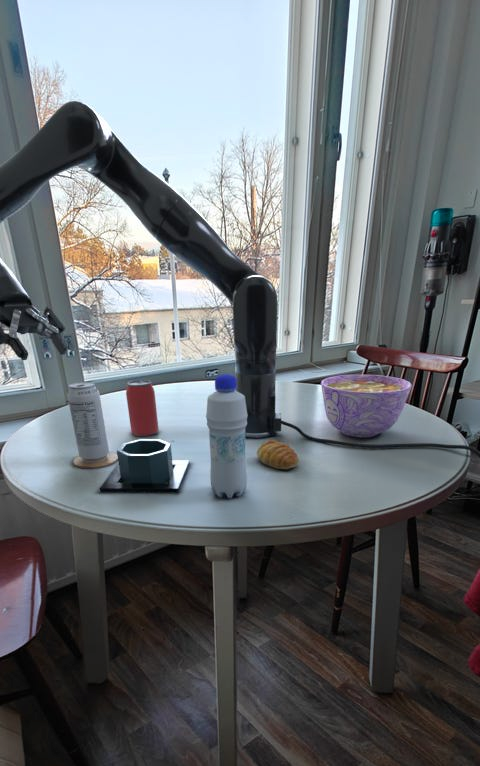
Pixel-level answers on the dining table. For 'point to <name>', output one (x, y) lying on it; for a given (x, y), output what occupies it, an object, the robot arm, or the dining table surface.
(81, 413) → the energy drink can
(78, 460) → the cork coaster
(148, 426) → the beer can
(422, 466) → the dining table surface
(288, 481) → the dining table surface
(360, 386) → the bowl of food
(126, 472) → the can holder
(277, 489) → the dining table surface
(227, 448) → the bottle
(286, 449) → the pastry
